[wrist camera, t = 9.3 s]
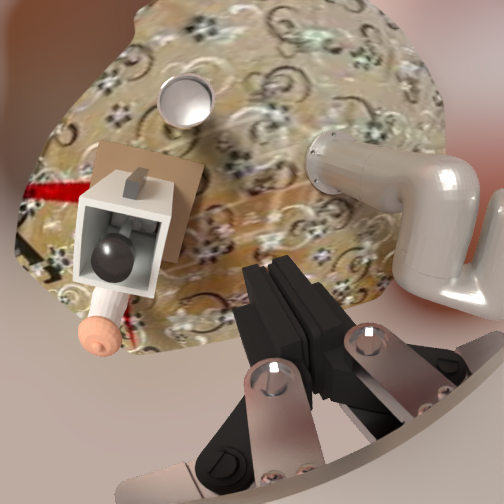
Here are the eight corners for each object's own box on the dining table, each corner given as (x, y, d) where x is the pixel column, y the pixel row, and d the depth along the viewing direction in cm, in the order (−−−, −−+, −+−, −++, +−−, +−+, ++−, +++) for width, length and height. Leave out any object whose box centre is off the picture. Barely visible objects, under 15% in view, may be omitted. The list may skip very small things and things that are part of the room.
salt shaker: (111, 256, 47) (86, 320, 30) (140, 278, 51) (130, 349, 34) (92, 281, 48) (65, 348, 31) (120, 301, 51) (106, 373, 35)
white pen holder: (203, 163, 45) (220, 188, 27) (177, 258, 51) (180, 329, 33) (102, 140, 38) (53, 151, 21) (85, 238, 44) (45, 301, 27)
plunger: (164, 189, 42) (155, 235, 25) (154, 232, 45) (142, 302, 27) (120, 178, 39) (79, 219, 22) (111, 223, 42) (75, 287, 24)
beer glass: (174, 137, 42) (172, 140, 28) (155, 102, 38) (144, 90, 25) (212, 117, 42) (227, 111, 29) (194, 82, 38) (200, 61, 25)
